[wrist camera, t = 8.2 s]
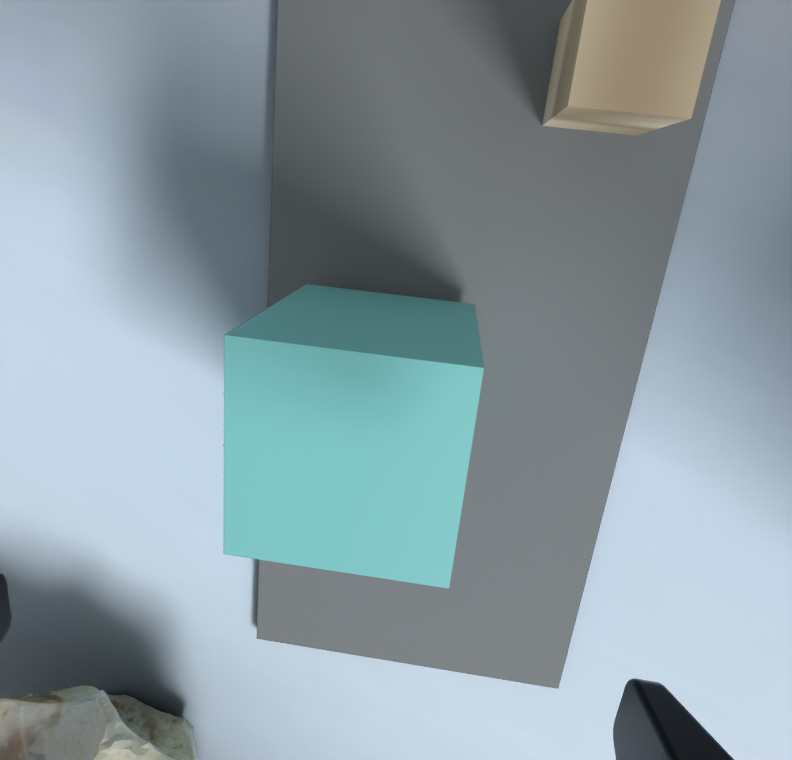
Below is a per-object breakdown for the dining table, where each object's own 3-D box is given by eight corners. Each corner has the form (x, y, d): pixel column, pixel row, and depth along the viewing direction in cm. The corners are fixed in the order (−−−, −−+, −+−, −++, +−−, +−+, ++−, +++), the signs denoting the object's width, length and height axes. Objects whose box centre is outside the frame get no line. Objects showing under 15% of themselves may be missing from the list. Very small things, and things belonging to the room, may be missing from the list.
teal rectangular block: (474, 304, 17) (484, 368, 11) (452, 457, 19) (448, 588, 13) (306, 283, 18) (224, 335, 11) (299, 437, 19) (223, 554, 13)
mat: (750, -82, 14) (758, -90, 14) (556, 680, 23) (558, 688, 22) (286, -119, 15) (281, -127, 15) (260, 631, 23) (256, 638, 23)
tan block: (659, 29, 15) (726, -25, 11) (636, 135, 16) (691, 118, 12) (560, 19, 15) (594, -37, 11) (542, 125, 16) (567, 105, 12)
